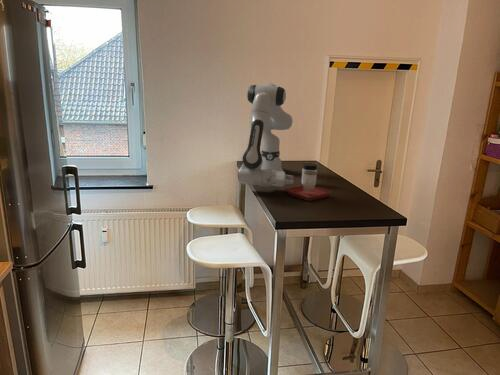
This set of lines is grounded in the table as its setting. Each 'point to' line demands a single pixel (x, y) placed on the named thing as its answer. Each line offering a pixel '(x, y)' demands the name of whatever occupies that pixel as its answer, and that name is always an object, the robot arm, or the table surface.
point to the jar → (308, 168)
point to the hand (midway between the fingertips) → (293, 179)
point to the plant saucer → (307, 193)
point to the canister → (309, 181)
